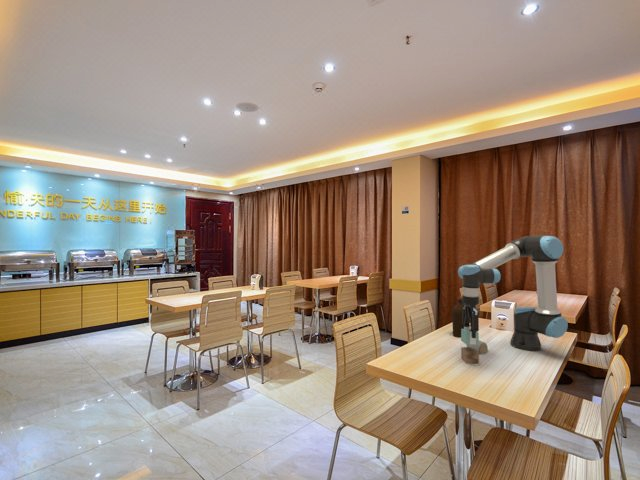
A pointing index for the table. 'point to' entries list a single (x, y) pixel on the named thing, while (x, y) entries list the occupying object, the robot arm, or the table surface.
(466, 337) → the teal block
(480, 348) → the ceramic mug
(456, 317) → the olive oil
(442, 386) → the table surface
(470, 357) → the walnut block
